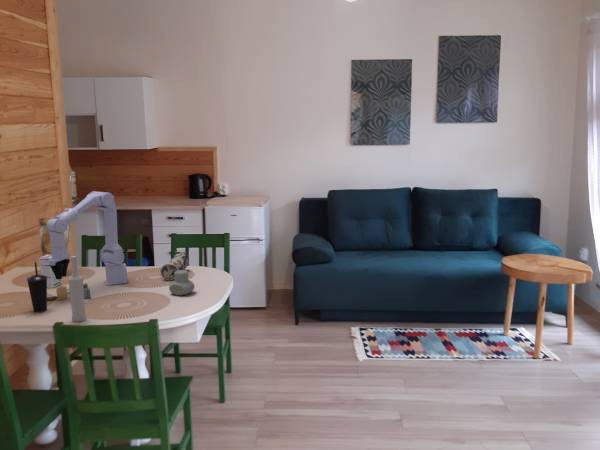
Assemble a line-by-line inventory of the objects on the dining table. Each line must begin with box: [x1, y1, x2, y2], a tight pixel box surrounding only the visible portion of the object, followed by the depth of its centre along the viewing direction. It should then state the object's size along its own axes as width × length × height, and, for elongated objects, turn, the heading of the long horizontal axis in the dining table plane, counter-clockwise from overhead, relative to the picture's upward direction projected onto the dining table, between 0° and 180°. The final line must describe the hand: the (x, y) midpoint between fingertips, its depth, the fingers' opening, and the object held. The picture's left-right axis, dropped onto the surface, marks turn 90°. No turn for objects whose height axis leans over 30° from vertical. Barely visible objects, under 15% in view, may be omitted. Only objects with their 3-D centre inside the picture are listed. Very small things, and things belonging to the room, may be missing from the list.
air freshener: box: [168, 269, 195, 296], centre depth 246 cm, size 11×8×10 cm
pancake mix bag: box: [37, 217, 71, 277], centre depth 278 cm, size 7×19×28 cm, turn 65°
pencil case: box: [159, 251, 189, 281], centre depth 275 cm, size 22×8×10 cm, turn 177°
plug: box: [47, 285, 68, 302], centre depth 240 cm, size 9×4×5 cm, turn 117°
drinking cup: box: [26, 262, 48, 313], centre depth 225 cm, size 8×8×20 cm
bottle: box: [67, 255, 87, 323], centre depth 213 cm, size 5×5×25 cm
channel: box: [83, 282, 92, 300], centre depth 244 cm, size 6×12×4 cm, turn 27°
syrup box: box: [39, 255, 62, 289], centre depth 259 cm, size 6×6×14 cm
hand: (61, 277), depth 240 cm, fingers open, 4 cm apart
